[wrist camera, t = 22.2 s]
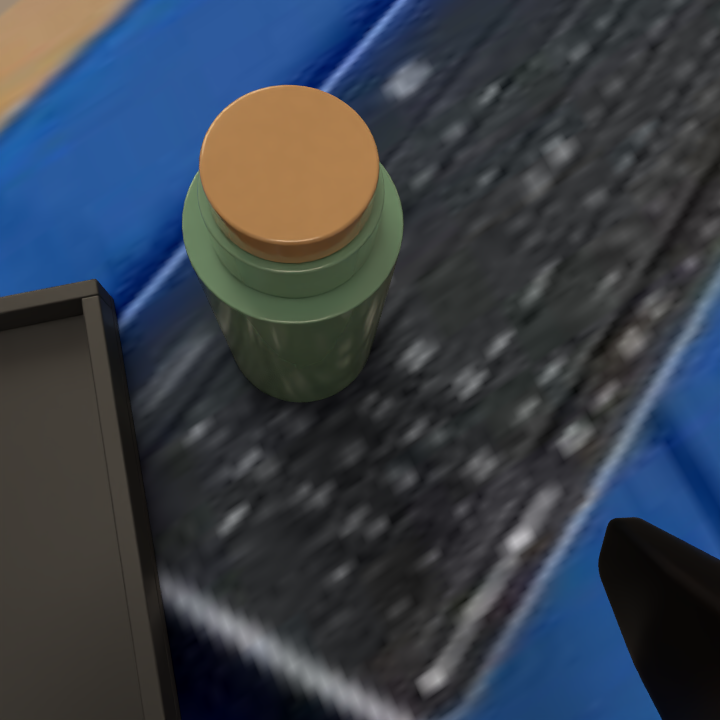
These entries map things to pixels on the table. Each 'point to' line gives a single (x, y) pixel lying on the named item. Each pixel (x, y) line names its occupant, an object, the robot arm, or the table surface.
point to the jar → (293, 238)
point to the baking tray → (74, 521)
